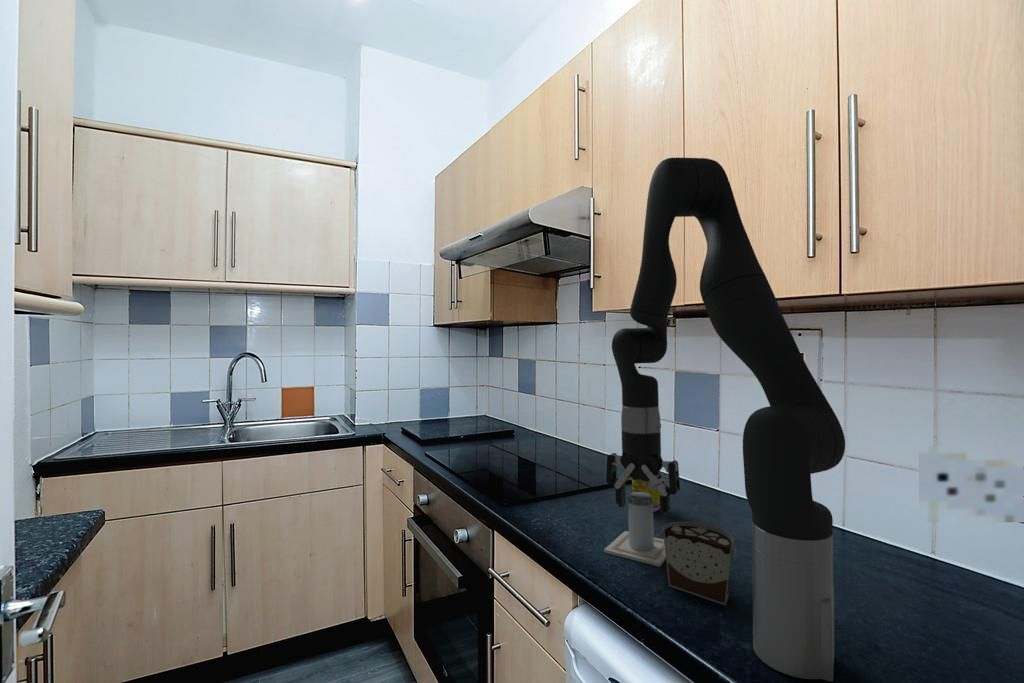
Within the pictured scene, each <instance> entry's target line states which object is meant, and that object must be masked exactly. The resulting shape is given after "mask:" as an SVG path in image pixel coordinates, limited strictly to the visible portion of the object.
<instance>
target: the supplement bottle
mask: <svg viewBox="0 0 1024 683" xmlns="http://www.w3.org/2000/svg"><path fill="white" fill-rule="evenodd" d="M631 490H632V491H631V493H632V492H644V493H649V494H651V495H652V496H653V513H654V512H657V511H660V496H661V493H660V492H659V490H658V489H657V487H655V486H654V485H653V484H652V482H651V481H648V482H647V481H643V480H633V478H631Z"/></svg>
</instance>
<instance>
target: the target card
mask: <svg viewBox="0 0 1024 683" xmlns="http://www.w3.org/2000/svg"><path fill="white" fill-rule="evenodd" d="M603 553H604V554H609V555H611V556H616V557H620V558H624V559H628V560H631V561H635V562H639V563H644V564H647V565H651V566H656V567H658V568H659V567H661V566H662V565H663V563H664V562H665V561H666V553H665V544H664V538H661V537H660V538H659V537H655V536H654V548H653V549H652V550H649V551H638V550H634V549H632V548H631V547H630V546H629V530H628V531H627V530H624V531H623V532H621V534H620V535H619V536H617V537H616V539H614V540H613V541H612V542H611V543H610V544H608V545H607V547H605V548H604V549H603Z"/></svg>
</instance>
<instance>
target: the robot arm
mask: <svg viewBox="0 0 1024 683" xmlns="http://www.w3.org/2000/svg"><path fill="white" fill-rule="evenodd" d="M645 212H646V213H645V219H644V229H643V230H644V231H643V238H642V239H643V240H642V251H641V252H642V253H641V254H642V255H641V261H640V262H641V263H640V268H639V272H638V273H639V274H638V277H637V278H638V279H637V281H636V285H635V289H634V293H633V297H632V301H631V305H630V308H629V314H630V317H631V319H632V320H634V321H635V322H636V323H638V324H640V325H643V326H647V327H635V328H630V327H629V328H628V327H627V328H626V327H625V328H624V327H623V328H620V329H618V330H617V331H616V332H615V333H614V335H613V337H612V341H611V351H612V354H613V358H614V361H615V365H616V367H617V371H618V372H617V373H618V374H619V379H620V384H621V416H620V417H621V421H620V425H621V451H622V452H621V455H619V454H617V453H616V452H613V453H610V454H609V455H607V456H606V476H605V478H606V479H605V480H606V484H607V485H612V486H613V487H614V490H615V502H616V504H617V506H618V508H624V507H625V506H626V502H627V500H626V498H627V497H626V487H625V485H626V483H627V482H628V481H629V480H630V479H632V478H633V480H643V481H647V482H648V481H651V482H652V484H653V485H654V486H655V487H657V489H658V490H659V492H660V509H659V513H660V515H661V516H666V515H667V513H669V512H670V511H671V495H676V494H677V493H678V492H680V490H681V482H680V472H679V470H680V469H679V468H680V467H679V462H678V461H677V460H675V459H674V460H672V461H667V460H663V458H662V439H661V438H662V437H661V436H662V435H661V433H662V432H661V428H662V423H661V414H660V408H659V407H660V405H659V399H660V398H659V382H658V379H656V378H655V377H654V376H652V375H649V374H648V375H647V374H641V373H640V372H639V371H638V369H637V367H636V364H655V363H658V362H660V361H661V360H662V359H663V358H664V357H665V355H666V353H667V350H668V317H669V313H670V310H671V307H672V303H673V301H674V297H675V293H676V289H677V283H678V282H677V281H678V279H677V271H676V268H675V264H674V261H673V258H672V253H671V249H670V233H671V229H672V227H673V224H674V221H675V219H676V218H677V217H679V218H680V217H681V218H683V217H684V218H685V217H688V218H689V217H694V218H695V219H696V220H697V221H698V222H699V225H700V227H701V229H702V232H703V234H704V237H705V240H706V253H705V254H706V255H705V259H704V262H703V265H702V269H701V274H700V280H699V293H700V296H701V299H702V302H703V305H704V308H705V310H706V312H707V315H708V317H709V320H710V322H711V325H712V327H713V329H714V331H715V332H716V334H717V336H718V337H719V338H720V339H721V341H722V342H723V343H724V344H725V345H726V346H727V347H728V348H729V349H730V350H731V352H733V353H734V354H735V356H737V358H739V359H740V360H741V362H742V363H744V364H745V365H746V367H747V368H748V369H749V370H750V371H751V373H753V375H754V376H755V378H756V379H757V381H758V382H759V385H760V386H761V388H762V390H763V392H764V395H765V397H766V399H767V401H768V404H769V406H765V407H761V408H758V409H756V410H755V411H753V412H752V413H751V414H750V415H749V417H747V420H746V423H745V425H744V428H743V435H742V458H743V459H742V460H743V474H744V476H743V477H744V489H745V490H744V491H745V496H746V499H747V502H748V504H749V508H750V509H751V523H752V524H751V525H752V526H751V530H752V531H751V532H752V534H751V535H752V536H751V537H752V538H751V540H752V543H751V544H752V546H751V547H752V549H751V551H752V552H751V554H752V563H751V564H752V646H753V647H752V648H753V651H754V653H755V655H756V656H757V657H758V658H759V659H760V660H761V662H763V663H764V664H766V665H767V666H768V667H770V668H771V669H773V670H775V671H777V672H780V673H782V674H784V675H787V676H790V677H794V678H798V679H803V680H824V681H828V682H833V681H834V669H835V668H834V666H835V664H834V663H835V594H834V593H835V591H834V590H835V586H834V568H833V567H834V557H833V556H834V554H833V552H834V550H833V549H834V546H833V545H834V544H833V540H834V539H833V538H834V537H833V535H834V534H833V532H834V521H833V515H832V511H831V510H830V509H829V508H828V507H827V506H825V505H824V504H822V503H820V502H818V501H815V500H814V499H813V492H812V491H813V488H812V476H811V474H817V473H822V472H826V471H828V470H831V469H833V468H835V467H837V466H838V465H839V464H840V463H841V461H842V460H843V457H844V455H845V450H846V438H845V434H844V430H843V427H842V425H841V423H840V421H839V419H838V416H837V414H836V413H835V411H834V410H833V408H832V406H831V404H830V403H829V400H827V397H826V396H825V395H824V393H823V391H822V389H821V388H820V386H819V384H818V383H817V381H816V379H815V377H814V376H813V374H812V373H811V371H810V369H809V368H808V366H807V363H806V362H805V360H804V357H803V356H802V355H803V354H801V351H800V349H799V348H798V345H797V343H796V340H795V339H794V337H793V336H794V335H793V334H792V332H791V330H790V327H789V325H788V324H787V322H786V319H785V317H784V315H783V313H782V310H781V308H780V306H779V303H778V300H777V298H776V296H775V294H774V291H773V289H772V287H771V285H770V282H769V280H768V279H767V276H766V273H765V272H764V269H763V268H762V265H761V264H760V263H759V260H758V257H757V256H756V252H755V251H754V248H753V246H752V243H751V241H750V237H749V236H748V233H747V231H746V229H745V226H744V224H743V221H742V219H741V215H740V212H739V207H738V206H737V203H736V198H735V195H734V192H733V189H732V186H731V182H730V180H729V178H728V175H727V173H726V170H725V169H724V167H723V166H722V165H721V164H720V163H719V162H718V161H717V160H714V159H711V158H705V157H668V158H665V159H663V160H661V161H660V163H658V164H657V166H656V167H655V169H654V171H653V173H652V176H651V179H650V182H649V188H648V192H647V199H646V209H645ZM619 464H621V466H622V467H623V469H624V471H623V472H622V473H621V474H620V476H619V478H618V477H617V473H618V472H617V469H618V467H617V466H619ZM662 468H664V469H665V472H666V473H667V474H668V483H667V482H666V480H665V477H664V476H663V474H662V473H661V470H662Z"/></svg>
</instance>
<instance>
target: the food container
mask: <svg viewBox="0 0 1024 683" xmlns="http://www.w3.org/2000/svg"><path fill="white" fill-rule="evenodd" d="M659 537H660V538H663V539H664V544H665V553H666V560H665V561H666V571H667V580H668V581H667V582H668V587H671V588H674V589H676V590H679V591H682V592H685V593H688V594H691V595H693V596H697V597H699V598H703V599H705V600H709V601H711V602H713V603H716V604H719V605H723V606H727V604H728V602H729V593H730V583H731V574H732V565H733V564H732V563H733V558H734V559H735V558H737V556H738V551H737V546H736V541H735V540H734V537H733V535H731V533H729V532H728V531H727V530H724V529H722V528H720V527H718V526H715V525H711V524H708V523H702V522H697V521H674V522H669V523H666V524H664V525H662V529H661V531H660V536H659Z"/></svg>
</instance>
